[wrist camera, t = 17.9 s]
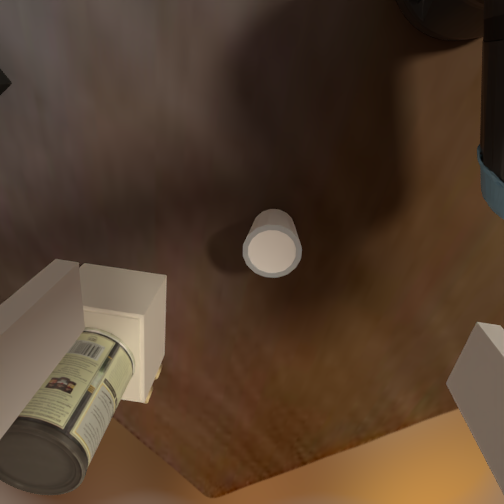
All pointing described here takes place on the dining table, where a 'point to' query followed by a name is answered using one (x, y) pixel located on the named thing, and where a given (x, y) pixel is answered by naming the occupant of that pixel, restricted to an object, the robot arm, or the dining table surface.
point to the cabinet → (129, 318)
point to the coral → (4, 82)
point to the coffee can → (67, 416)
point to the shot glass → (272, 244)
